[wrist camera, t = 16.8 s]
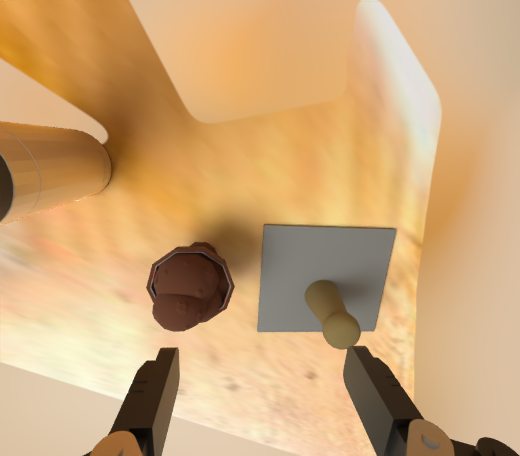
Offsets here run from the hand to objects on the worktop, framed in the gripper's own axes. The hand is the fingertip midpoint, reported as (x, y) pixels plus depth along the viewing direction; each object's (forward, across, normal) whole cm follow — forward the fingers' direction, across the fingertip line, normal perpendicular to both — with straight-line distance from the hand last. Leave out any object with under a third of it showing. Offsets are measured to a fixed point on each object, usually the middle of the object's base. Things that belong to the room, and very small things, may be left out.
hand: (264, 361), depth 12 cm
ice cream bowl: (+30, +7, +8) cm, 32 cm away
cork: (+30, -14, +14) cm, 36 cm away
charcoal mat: (+30, -14, +12) cm, 35 cm away
